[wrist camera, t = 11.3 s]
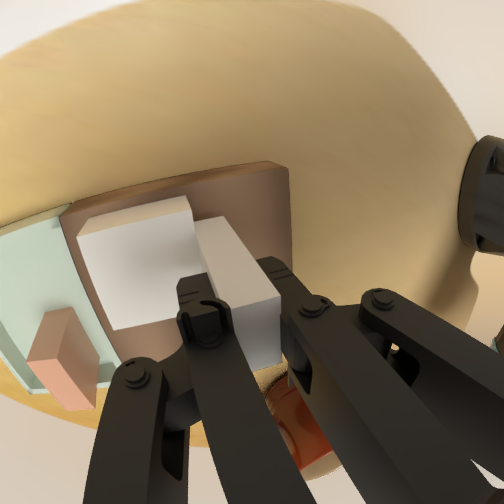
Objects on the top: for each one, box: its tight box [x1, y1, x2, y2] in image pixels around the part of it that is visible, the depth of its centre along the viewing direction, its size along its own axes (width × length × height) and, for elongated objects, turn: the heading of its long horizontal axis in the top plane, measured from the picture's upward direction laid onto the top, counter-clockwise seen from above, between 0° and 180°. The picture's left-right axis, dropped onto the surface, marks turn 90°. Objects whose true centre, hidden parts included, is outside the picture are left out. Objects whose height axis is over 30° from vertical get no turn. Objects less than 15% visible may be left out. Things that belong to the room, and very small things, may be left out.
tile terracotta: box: [26, 307, 100, 411], centre depth 15 cm, size 5×5×2 cm
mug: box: [266, 374, 343, 481], centre depth 23 cm, size 12×9×10 cm
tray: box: [0, 203, 122, 394], centre depth 15 cm, size 10×13×3 cm
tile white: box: [76, 195, 203, 330], centre depth 13 cm, size 5×5×2 cm
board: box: [59, 161, 292, 363], centre depth 17 cm, size 12×13×3 cm
